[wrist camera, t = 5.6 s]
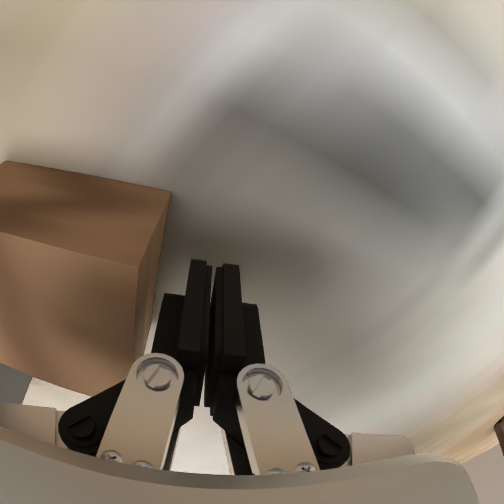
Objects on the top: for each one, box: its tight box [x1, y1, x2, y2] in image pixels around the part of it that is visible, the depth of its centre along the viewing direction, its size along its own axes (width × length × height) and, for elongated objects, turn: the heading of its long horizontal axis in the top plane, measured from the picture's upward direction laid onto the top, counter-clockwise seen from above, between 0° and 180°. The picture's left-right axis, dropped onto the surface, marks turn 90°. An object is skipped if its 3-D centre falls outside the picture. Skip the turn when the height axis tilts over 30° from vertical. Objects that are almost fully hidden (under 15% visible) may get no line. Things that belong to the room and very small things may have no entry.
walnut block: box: [0, 161, 171, 397], centre depth 10 cm, size 8×7×5 cm
